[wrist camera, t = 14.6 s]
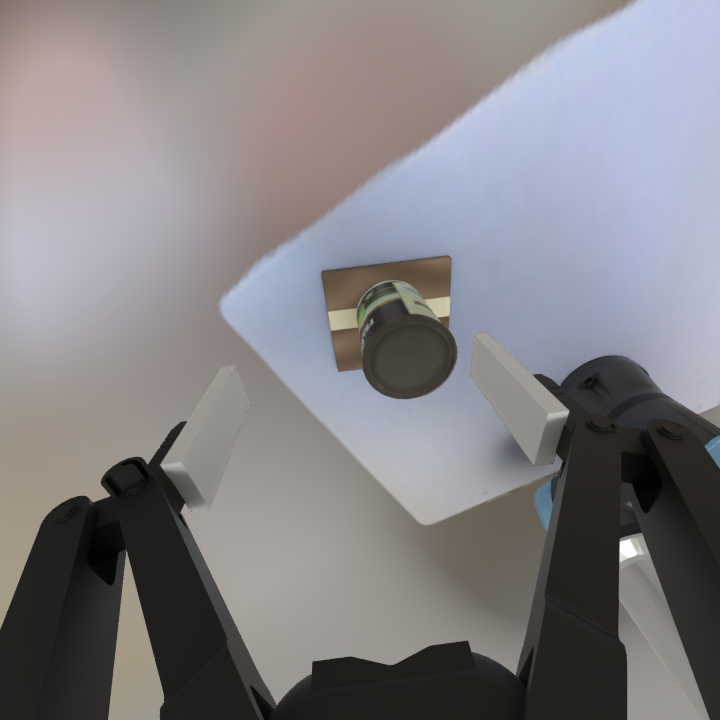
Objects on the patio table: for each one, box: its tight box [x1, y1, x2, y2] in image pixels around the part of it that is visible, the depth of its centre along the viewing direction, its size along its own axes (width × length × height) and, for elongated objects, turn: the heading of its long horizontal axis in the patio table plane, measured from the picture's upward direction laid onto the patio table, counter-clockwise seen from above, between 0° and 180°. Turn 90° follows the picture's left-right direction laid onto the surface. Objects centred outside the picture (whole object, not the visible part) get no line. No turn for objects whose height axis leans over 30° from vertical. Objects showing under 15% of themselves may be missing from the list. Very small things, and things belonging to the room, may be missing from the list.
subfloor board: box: [322, 256, 452, 372], centre depth 46 cm, size 16×18×2 cm
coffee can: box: [356, 280, 457, 399], centre depth 38 cm, size 10×10×14 cm
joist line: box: [328, 296, 450, 331], centre depth 45 cm, size 3×18×1 cm, turn 96°
